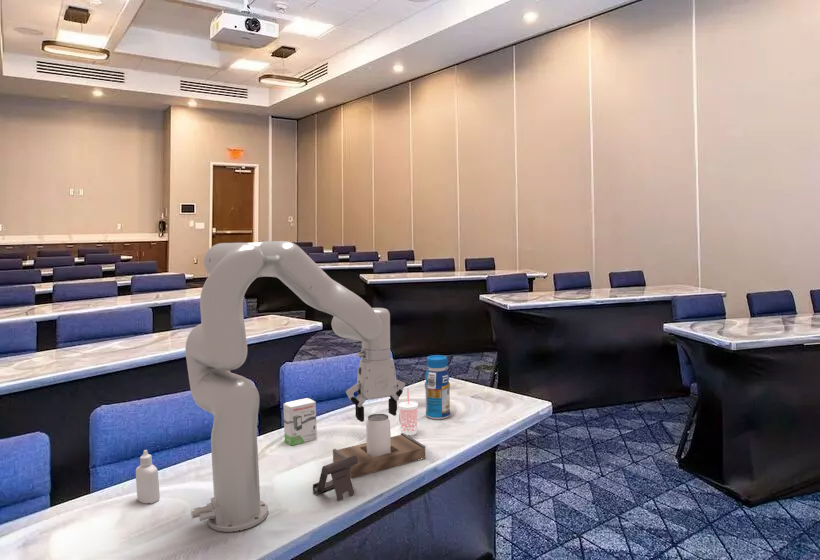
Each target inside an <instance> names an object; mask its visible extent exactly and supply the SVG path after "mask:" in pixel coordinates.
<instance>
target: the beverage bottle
mask: <svg viewBox="0 0 820 560" xmlns="http://www.w3.org/2000/svg"><path fill="white" fill-rule="evenodd" d="M426 366H427V368H428V369H427V370H426V373H425V375H424V380H425V382H424V389H425V416H426V417H427V418H428V419H431V420H444V419H447V418H449V417H451V416H450V415H451V409H450V407H451V406H450V405H451V404H450V403H451V400H450V392H451V391H450V388H451V383H450V381H449V380H450V378H451V377H450V374H449V372H448V370H447V369H446V368H447V367H448V358H447V356H446V355H441V354H434V355H428V356H427V357H426Z"/></svg>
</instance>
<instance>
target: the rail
mask: <svg viewBox="0 0 820 560" xmlns="http://www.w3.org/2000/svg"><path fill="white" fill-rule="evenodd" d="M390 437H391V453H389V454H385V455H381V456H377V457H371V456H370V455H369V454H367V442H365V443H359V444H356V445H352V446H347V447H344V448H339V449H336V448H333V449H332V461H333V462H332V463H334V462H337V461H340V460H343V459H345V458H348V457H351V456H354V455H355V456H356V457H357V459H358V463H357V464H356V465H353V466H351V468H350V472H349V474H350V477H351V479H353V478H356V477H360V476H364V475H368V474H373V473H376V472H379V471H383V470H387V469H391V468H395V467H397V466H401V465H406V464H409V462H410V463H413V462H416V461H415V460H417V461H419V460H418V459H421V458H424V459H426V445H424V444H423V443H421V442H419V441H418V440H415V439H414V438H412V437H410V436H408V435H406V434H404V433H400V434H398V435H394V436H390ZM421 460H422V459H421ZM412 461H413V462H412ZM405 463H406V464H405ZM394 466H395V467H394Z"/></svg>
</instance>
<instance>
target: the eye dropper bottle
mask: <svg viewBox="0 0 820 560" xmlns="http://www.w3.org/2000/svg"><path fill="white" fill-rule="evenodd" d="M152 458H153V457H152V454H149V452H148V450H147V449H144V450H143V453H142V455H141V456H140V457H139V461H140V462H139V463H140V465H138V466H137V467H136V469H135V482H136V485H135V486H136V496H137V497H136V498H137V501H139V502H140V503H142V502H143V504H147V503H151V504H155V503H156V502H158V501H160V497H161V496H160V482H159V481H160V479H159V472H158V471H159V470H158V468H157V467H156V465H154V464H153V460H152Z"/></svg>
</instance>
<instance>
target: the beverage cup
mask: <svg viewBox="0 0 820 560" xmlns="http://www.w3.org/2000/svg"><path fill="white" fill-rule="evenodd" d="M409 389H410V388H409V387H408V388H406V393H407V394H406V395H407V396H406V397H407V398H406V399H407V401H402V402H399V403H397V407H398V409H399V419H400V431H401V433H404V434H406V435H410V436H414V434H415V435H416V434H417V433H418V431H417V428H418V408H419V403H418V402H417V401H410V390H409ZM401 433H400V434H401Z"/></svg>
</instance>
